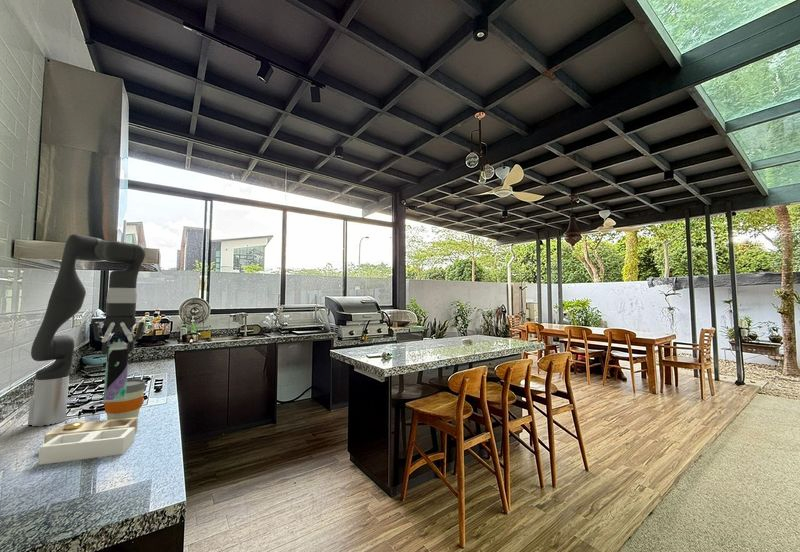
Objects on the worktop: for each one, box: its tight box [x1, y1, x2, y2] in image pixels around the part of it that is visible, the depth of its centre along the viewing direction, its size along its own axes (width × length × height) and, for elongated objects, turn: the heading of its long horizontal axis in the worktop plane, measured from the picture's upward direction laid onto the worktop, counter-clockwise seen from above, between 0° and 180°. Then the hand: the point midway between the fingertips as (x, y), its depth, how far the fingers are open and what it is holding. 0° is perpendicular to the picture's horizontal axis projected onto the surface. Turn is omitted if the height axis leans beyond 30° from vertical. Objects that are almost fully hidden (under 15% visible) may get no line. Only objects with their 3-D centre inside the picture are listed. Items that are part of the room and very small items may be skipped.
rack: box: [37, 427, 136, 466], centre depth 103 cm, size 20×9×5 cm, turn 111°
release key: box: [64, 421, 83, 430], centre depth 109 cm, size 4×4×6 cm
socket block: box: [43, 416, 139, 445], centre depth 111 cm, size 22×9×5 cm, turn 111°
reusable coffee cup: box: [103, 378, 146, 420], centre depth 128 cm, size 13×13×15 cm
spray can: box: [102, 337, 130, 403], centre depth 106 cm, size 6×6×20 cm
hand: (118, 353), depth 107 cm, fingers closed on spray can, 5 cm apart
